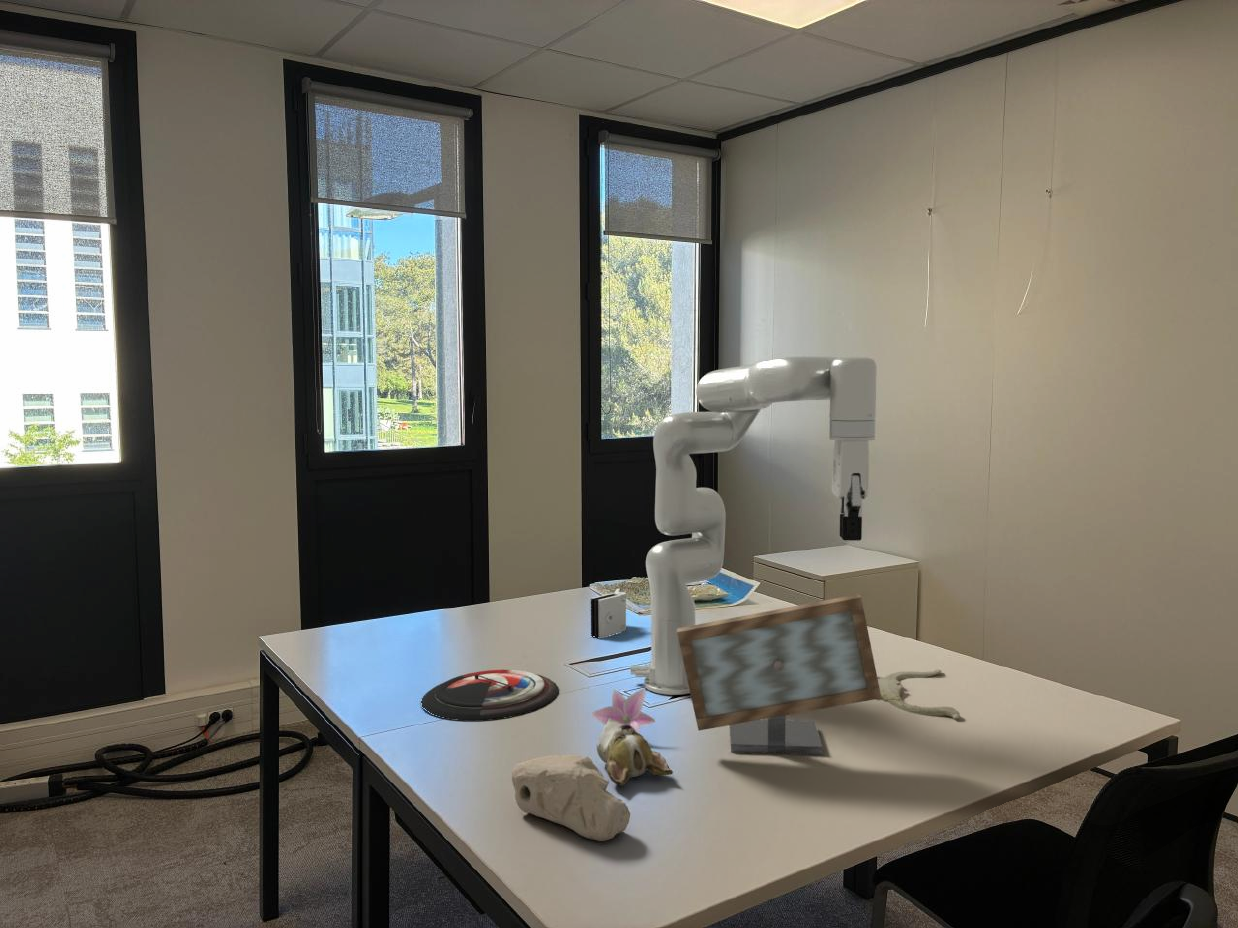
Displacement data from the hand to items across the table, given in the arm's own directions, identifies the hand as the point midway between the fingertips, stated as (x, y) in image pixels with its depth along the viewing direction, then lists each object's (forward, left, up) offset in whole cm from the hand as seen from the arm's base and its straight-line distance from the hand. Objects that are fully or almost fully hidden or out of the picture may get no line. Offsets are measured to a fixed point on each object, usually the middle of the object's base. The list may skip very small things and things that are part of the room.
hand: (850, 537), depth 160 cm
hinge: (-49, +77, -39) cm, 100 cm away
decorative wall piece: (+11, +36, -40) cm, 55 cm away
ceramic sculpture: (-38, -9, -40) cm, 55 cm away
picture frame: (-10, 0, -31) cm, 33 cm away
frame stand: (-12, +7, -39) cm, 42 cm away
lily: (-39, +6, -39) cm, 56 cm away
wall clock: (-69, +27, -40) cm, 85 cm away
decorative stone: (-45, -26, -40) cm, 65 cm away
